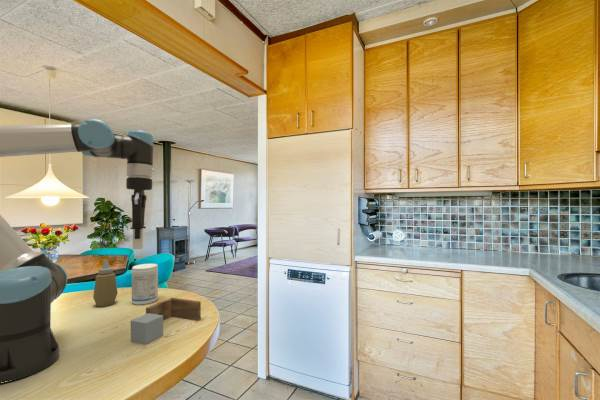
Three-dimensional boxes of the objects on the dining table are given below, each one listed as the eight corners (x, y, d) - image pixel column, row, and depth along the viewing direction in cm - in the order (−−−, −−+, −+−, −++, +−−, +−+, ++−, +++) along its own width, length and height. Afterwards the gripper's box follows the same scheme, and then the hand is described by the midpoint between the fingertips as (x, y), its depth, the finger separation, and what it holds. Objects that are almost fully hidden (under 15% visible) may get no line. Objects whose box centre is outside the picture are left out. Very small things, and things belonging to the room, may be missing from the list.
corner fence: (176, 332, 87) (176, 312, 87) (145, 326, 92) (145, 307, 92) (200, 318, 97) (200, 301, 97) (171, 314, 102) (171, 297, 102)
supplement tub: (136, 298, 120) (136, 264, 120) (160, 296, 122) (160, 262, 122) (128, 306, 110) (128, 268, 110) (154, 304, 112) (154, 267, 113)
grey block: (146, 344, 79) (146, 323, 80) (130, 341, 82) (130, 320, 82) (163, 335, 85) (163, 315, 85) (148, 332, 87) (148, 313, 87)
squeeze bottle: (122, 301, 116) (122, 257, 117) (107, 308, 108) (107, 261, 109) (104, 300, 117) (104, 257, 118) (87, 307, 109) (88, 261, 109)
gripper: (150, 176, 89) (148, 250, 88) (154, 180, 101) (152, 245, 100) (122, 175, 86) (120, 252, 86) (130, 179, 98) (128, 246, 98)
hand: (137, 248), depth 93 cm, fingers closed
